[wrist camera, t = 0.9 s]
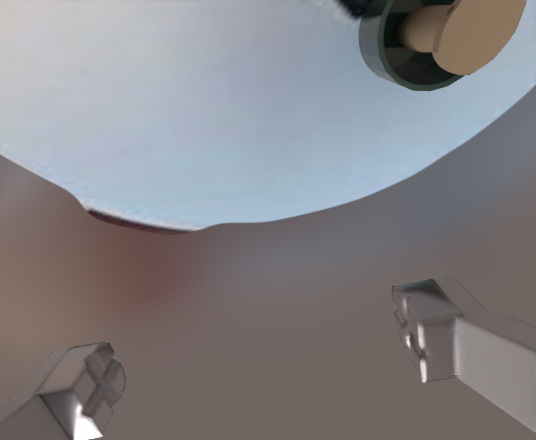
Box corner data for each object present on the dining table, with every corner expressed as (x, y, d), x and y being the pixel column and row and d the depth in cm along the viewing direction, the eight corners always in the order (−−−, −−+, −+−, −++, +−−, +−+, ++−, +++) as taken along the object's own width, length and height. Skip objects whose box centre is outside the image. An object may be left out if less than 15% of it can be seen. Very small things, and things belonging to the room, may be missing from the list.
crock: (352, -9, 36) (370, -20, 29) (455, -44, 34) (501, -64, 27) (365, 92, 41) (384, 104, 34) (456, 65, 39) (495, 72, 32)
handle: (444, 12, 36) (540, 0, 23) (405, 68, 39) (472, 86, 26) (410, -13, 35) (490, -41, 22) (372, 46, 38) (424, 53, 25)
